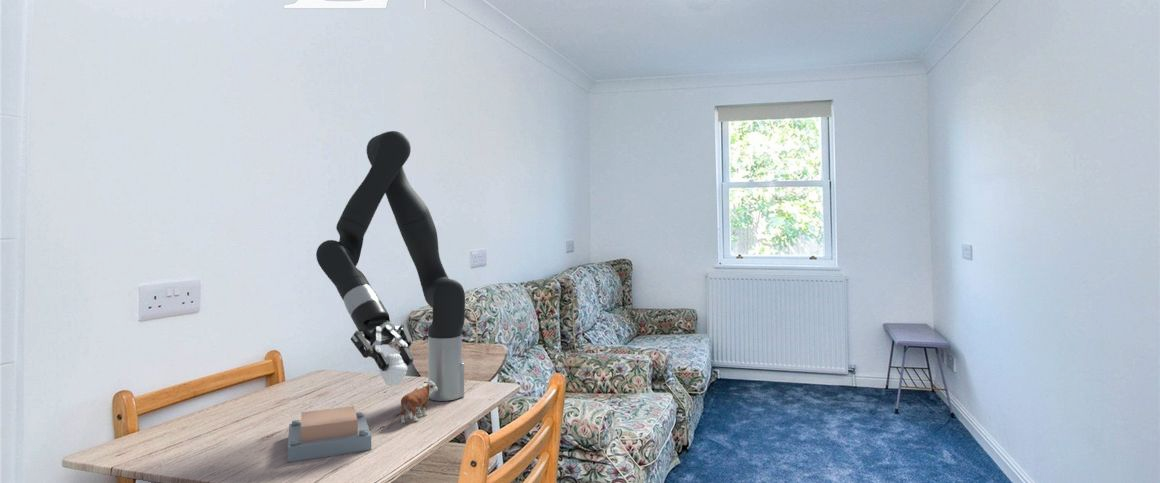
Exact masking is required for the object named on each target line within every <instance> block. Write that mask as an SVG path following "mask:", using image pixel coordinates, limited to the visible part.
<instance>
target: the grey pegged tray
mask: <svg viewBox="0 0 1160 483" xmlns="http://www.w3.org/2000/svg"><path fill="white" fill-rule="evenodd" d="M300 418H301V420H299V419H296V420H291V423H289V425H288V439H287V463H293V462H300V461H306V460H314V459H320V458H326V457H332V456H339V455H344V454H345V455H346V454H351V453H359V452H364V451H371V450H372V433H371V431H370V428H369V424H368V421H367V418H366V416H365V414H364V412H359V411H358V412H356V408H355V406H354V405H352V406H351V405H350V406H342V407H335V408H327V409H318V410H317V409H316V410H310V411H301V416H300Z"/></svg>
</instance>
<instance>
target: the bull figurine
mask: <svg viewBox="0 0 1160 483" xmlns="http://www.w3.org/2000/svg"><path fill="white" fill-rule="evenodd" d="M433 391H438V388H437V387H436V385H435V383H433V382H432V381H431V380H429V381H428V380H427V381H423V383H421V384H420V385H419V386H418V387H416V388H415V389H413V391H411V392H409V393H407V394H405V395H403V396H402V398H400V399H401V400H400V406H401V412H400V417H401V420H400V423H401V424H406V420H405V416H406V413H407V414H408V415H409V418H410V420H413V422H419V421H420V420H419V418H418V417H417V415H422V416H424V417H427V416H428V414H427V412H426V411H427V409H428V408H427V406H428V403H429V395H430V394H431V393H432V392H433ZM421 408H422V410H421ZM416 411H417V412H416ZM416 413H417V414H416Z"/></svg>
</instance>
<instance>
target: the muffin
mask: <svg viewBox="0 0 1160 483" xmlns="http://www.w3.org/2000/svg"><path fill="white" fill-rule="evenodd" d="M385 358H386V359H387V361H388V363H389V367H388V369H387V370H386V371H382V370H381V369H380V368H379V367H378V368H379V374H380V376H381V378H382V380H383V381H384V384H386V385H387V386H399V385H400V384H402V382H403V380H404V378H405V376H406V375H407V371H408V366H409V365H408V366H407V364H406V363H404V361H403V359H402V357H401V356H400V353H394V352H393V353H389V354H387V355H386V356H385Z"/></svg>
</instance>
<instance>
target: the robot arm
mask: <svg viewBox="0 0 1160 483" xmlns="http://www.w3.org/2000/svg"><path fill="white" fill-rule="evenodd" d="M366 145H367V146H366V156H367V159H368V161H369V164H370V165H371V167H370V169H369V171H368V173H367V174H366V176H365V178H364V179H363V180H362V182H361V183H360V185H359V186H358V187H357V189H356V190H355V191H354V193H353V194H352V195H351V197H350V199H349V200H348V202H346V203H347V204H345V207H344V209H343V211H342V213H341V215H340V217H339V219H338V221H337V224H336V227H335V228H336V232H337V233H338V235H339V240H334V239H328V240H324V241H323V242H321V243H320V245H319V246H318V247H317V249H316V254H315V256H316V262H317V263H318V266H319V267H320V269H321V270H322V272H324V274H325V275H326V277H328V279H329V281H331V283H333V285H334V286H335V288H336V290H337V292H338V294H339V296H340V298H341V300H342V301H343V303H344V306H345V308H346V311H347V313H348V315H349V316H350V318H351V320H352V323H353V324H354V325H355V327H356V329H357V330H355V332H354V333H353V334H352V336H351V337H350V340H351V341H350V342H352V344H353V345H354V346H355V347H356V349H357V351H358V352H359V353H360V354H361V357H363V358H364V359H366V358H371V359H373V360H374V362H375V363H376V365H377V366H378V367H377V368H380V369H381V370H382V371H386V370H387V369H388V367H389V363H388V361H387V359H386V356H385V354H384V352H383V351H382V347H381V346H383V345H384V346H385V345H387V346H388V347H390V348H391V349H395V350H396V351H397V352H398V353H399V355H400V356H401V357H402V360H403V361H404V363H406V364H407V366H410V365H412V363H413V362H414V356H413V355H412V353H411V350H410V349H409V348H410V347H411V345H412V344H413V343H414V342H413V339H412V337H411V334H410V332H409V330H408V327H407V325H406V324H405V323H401V324H400V325H395V324H393V323H392V321H391V320H390V314H389V312H388V310H387V309H386V308H385V306H384V304H383V302H382V301H381V299H380V297H379V295H378V294H377V292H376V291H375V290H374V288H373V287H372V285H371V284H370V283H369V280H368V279H367V277H366V275H365V274H364V273H363V272H362V271H361V270H360V269H359V268H358V267H357V265H358V263H359V261H360V259H361V258H360V257H361V253H362V248H363V245H364V237H365V234H366V233H367V231H368V229H369V226H370V225H371V222H372V220H373V218H374V216H375V214H376V211H377V209H378V207H379V205H380V203H381V201H382V199H383V198H384V196H385V195H386V196H385V197H386V199H387V202H388V205H389V207H390V209H391V211H392V214H393V217H394V219H395V222H396V225H397V227H398V230H399V232H400V235H401V237H402V240H403V242H404V245H405V246H406V249H407V251H408V253H409V256H410V258H411V260H412V262H413V264H414V266H415V269H416V272H417V276H418V279H419V281H420V286H421V289H422V293H423V296H424V297H423V298H424V299H425V302H426V303H427V304H428V306H429V307H430V308H432V321H431V323H430V325H429V326H428V329H427V330H428V331H427V332H428V334H427V336H428V338H427V339H428V341H427V342H428V345H427V346H428V347H427V348H428V349H427V352H428V359H427V360H428V363H427V365H428V374H427V375H428V376H427V378H428V380H427V382H428V381H429V380H431V381H432V382H433V383H435V385H436V387H437V388H438V391H433V392H432V393H431V394H430V395H429V399H430V400H432V401H437V402H442V401H443V402H444V401H445V402H446V401H447V402H448V401H454V400H458V399H460V398H465V363H464V362H463V328H464V325H465V318H466V316H465V315H466V314H465V313H466V293H465V289H464V286H463V285H462V284H461V283H460V282H459V281H457V280H456V279H455V280H454V279H452V278H451V279H450V278H449V276H448V274H447V273H446V271H445V268H444V266H443V264H442V260H441V257H440V251H439V240H438V238H439V237H438V231H437V228H436V225H435V223H434V220H433V217H432V215H431V211H430V210H429V208H428V206H427V205H426V203H425V201H424V200H423V198H421V196H420V195H419V193H417V192H416V191H415V189H414V188H413V187H412V185H411V183H410V182H409V180H408V178H407V176H406V172H405V170H404V167H403V166H404V165H405V163H406V162H407V161H408V160H409V158H410V155H411V147H412V146H411V143H410V141H409V139H408V137H407V136H406V135H405V134H403V133H402V132H400V131H397V130H391V131H386V132H382V133H380V134H377V135H376V136H373V137H372V138H371V139H370V140H369V141H368V143H367V144H366ZM393 340H394V341H393ZM381 351H382V352H381Z"/></svg>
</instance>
